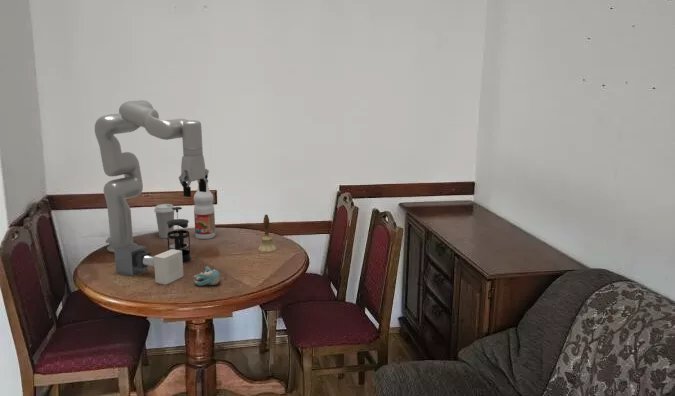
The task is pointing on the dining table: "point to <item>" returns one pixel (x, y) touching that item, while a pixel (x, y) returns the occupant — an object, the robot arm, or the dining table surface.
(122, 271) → the grey metal block
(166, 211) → the coffee cup
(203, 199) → the fruit juice
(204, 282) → the stuffed animal
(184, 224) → the french press
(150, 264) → the rod
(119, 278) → the dining table surface
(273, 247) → the hand bell
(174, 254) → the socket
